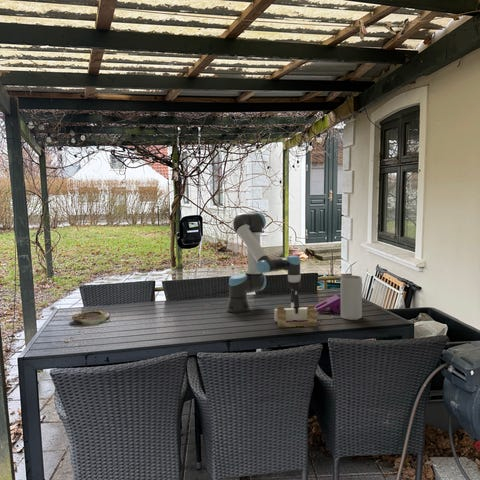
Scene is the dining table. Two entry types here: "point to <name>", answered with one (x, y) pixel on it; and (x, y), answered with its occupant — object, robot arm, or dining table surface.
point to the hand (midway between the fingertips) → (294, 315)
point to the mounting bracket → (330, 304)
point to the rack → (310, 322)
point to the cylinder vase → (351, 297)
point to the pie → (91, 317)
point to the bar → (291, 314)
